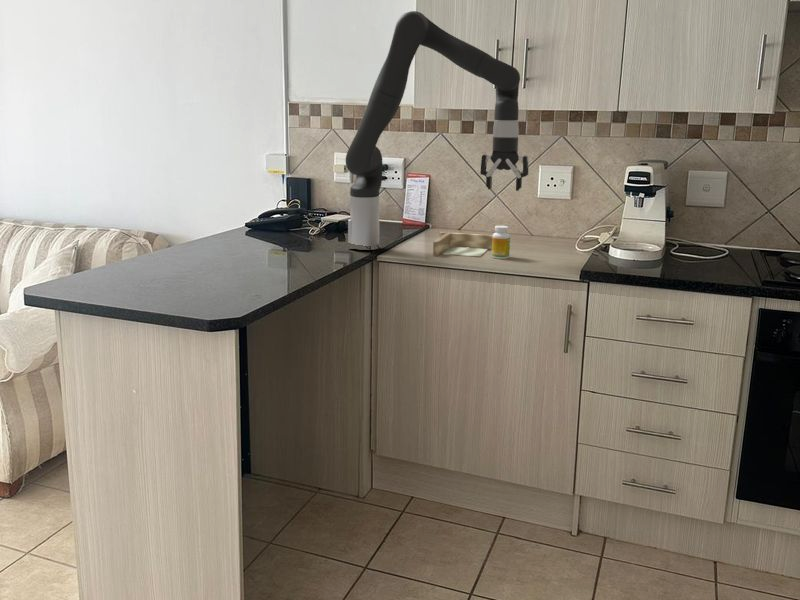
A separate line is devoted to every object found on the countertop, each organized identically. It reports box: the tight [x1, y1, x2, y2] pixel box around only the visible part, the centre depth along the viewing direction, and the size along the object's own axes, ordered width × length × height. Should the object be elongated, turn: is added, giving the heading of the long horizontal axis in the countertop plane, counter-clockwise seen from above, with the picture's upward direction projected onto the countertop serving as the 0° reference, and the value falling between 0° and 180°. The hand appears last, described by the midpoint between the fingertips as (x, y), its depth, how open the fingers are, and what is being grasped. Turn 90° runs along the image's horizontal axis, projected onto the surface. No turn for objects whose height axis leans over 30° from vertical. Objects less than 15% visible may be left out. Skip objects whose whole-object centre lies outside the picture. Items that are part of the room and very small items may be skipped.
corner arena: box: [432, 231, 493, 258], centre depth 253 cm, size 18×17×4 cm
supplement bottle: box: [491, 225, 511, 260], centre depth 245 cm, size 5×5×10 cm
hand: (503, 189), depth 241 cm, fingers open, 8 cm apart
